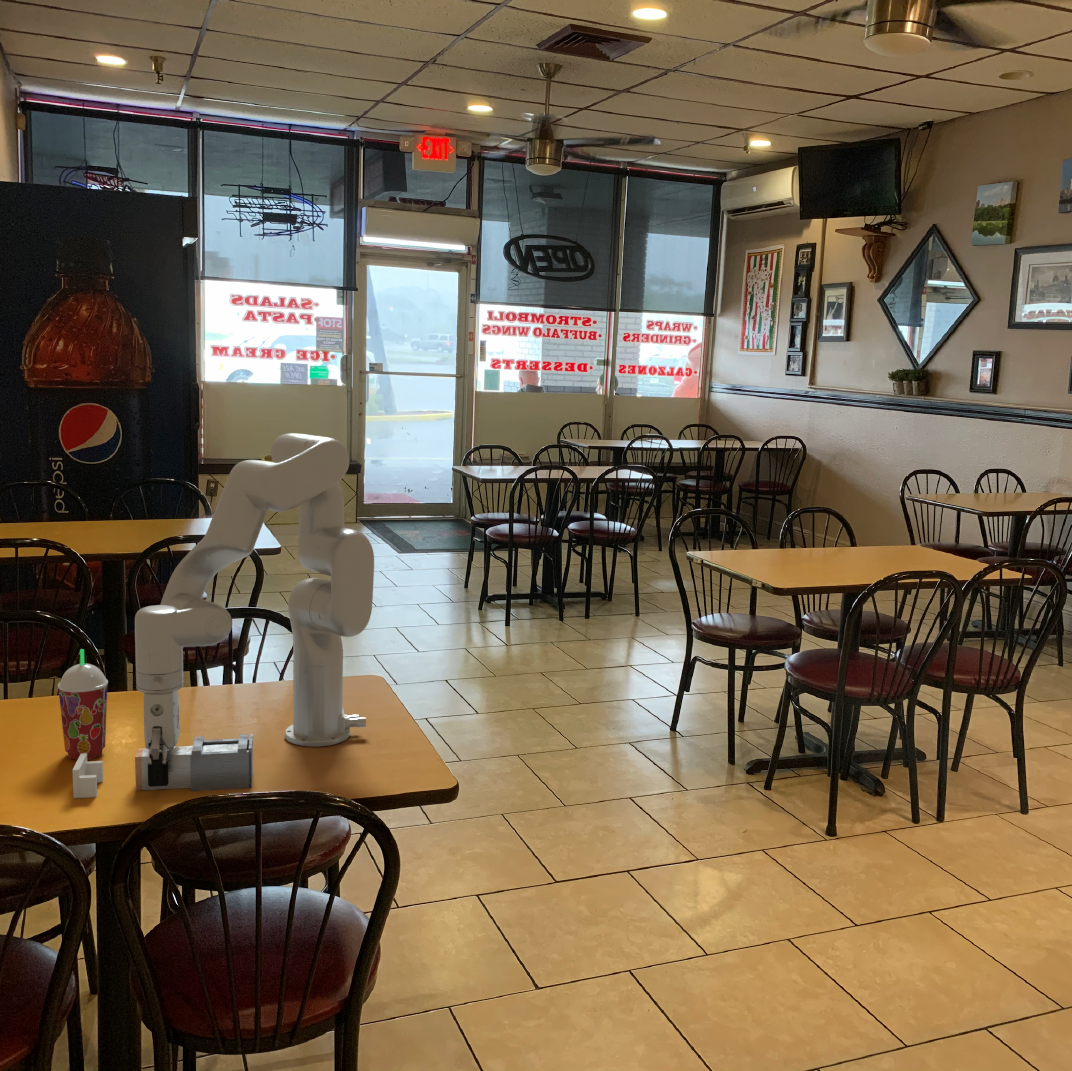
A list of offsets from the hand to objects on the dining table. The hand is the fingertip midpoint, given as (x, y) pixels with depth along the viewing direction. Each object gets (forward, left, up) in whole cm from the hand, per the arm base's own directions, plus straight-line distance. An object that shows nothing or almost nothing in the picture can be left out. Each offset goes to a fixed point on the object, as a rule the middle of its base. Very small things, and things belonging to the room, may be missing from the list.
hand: (161, 774), depth 176 cm
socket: (+11, 0, -2) cm, 12 cm away
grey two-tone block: (-5, 0, -2) cm, 5 cm away
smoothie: (+15, -16, -2) cm, 22 cm away
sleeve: (-10, 0, -2) cm, 10 cm away
